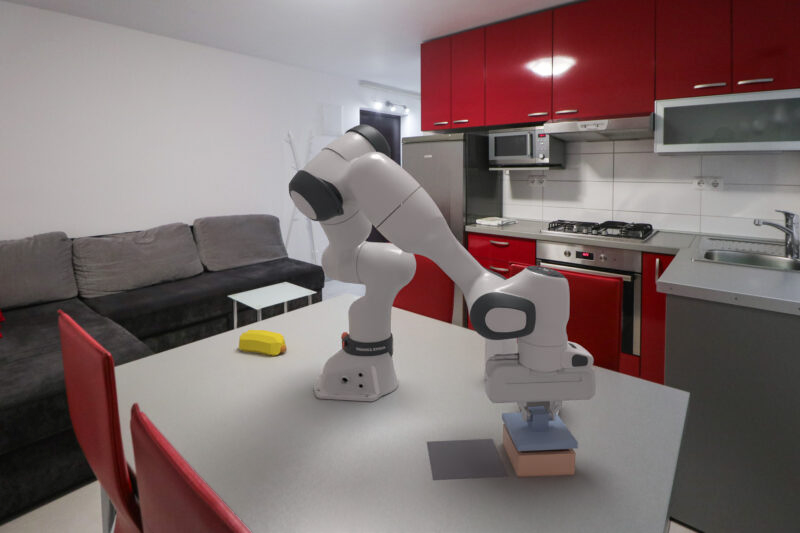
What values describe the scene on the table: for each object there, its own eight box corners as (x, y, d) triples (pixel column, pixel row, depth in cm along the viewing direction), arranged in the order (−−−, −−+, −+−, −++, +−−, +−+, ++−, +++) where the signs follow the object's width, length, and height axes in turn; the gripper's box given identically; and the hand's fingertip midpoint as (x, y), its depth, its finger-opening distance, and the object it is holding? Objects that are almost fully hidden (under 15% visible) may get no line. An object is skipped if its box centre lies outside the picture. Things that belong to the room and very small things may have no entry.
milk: (501, 387, 118) (503, 307, 114) (483, 379, 123) (485, 302, 118) (515, 380, 122) (518, 303, 117) (498, 372, 127) (500, 298, 122)
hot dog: (248, 344, 153) (232, 352, 146) (246, 325, 151) (230, 333, 144) (293, 350, 146) (279, 359, 139) (291, 330, 145) (277, 339, 138)
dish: (517, 479, 83) (518, 455, 82) (502, 445, 93) (503, 424, 92) (574, 477, 83) (575, 453, 82) (552, 443, 94) (553, 421, 93)
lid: (518, 451, 81) (518, 427, 80) (501, 418, 92) (502, 397, 91) (577, 448, 82) (579, 425, 81) (554, 416, 92) (555, 395, 91)
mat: (433, 482, 82) (433, 479, 82) (426, 444, 94) (426, 441, 94) (508, 479, 83) (508, 476, 83) (492, 441, 95) (492, 438, 95)
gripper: (490, 361, 80) (488, 431, 83) (602, 357, 81) (596, 426, 84) (482, 347, 86) (481, 413, 89) (586, 344, 87) (581, 409, 90)
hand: (538, 419), depth 86 cm, fingers open, 3 cm apart
